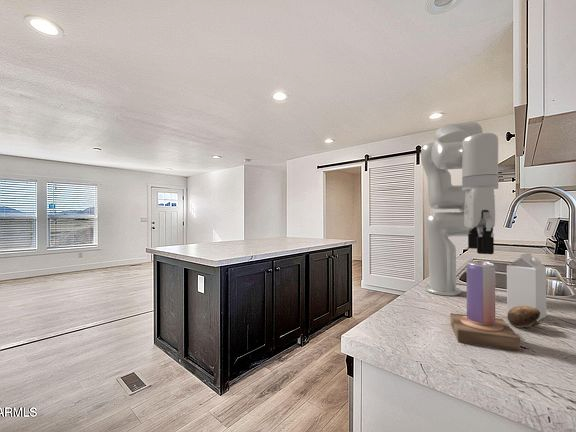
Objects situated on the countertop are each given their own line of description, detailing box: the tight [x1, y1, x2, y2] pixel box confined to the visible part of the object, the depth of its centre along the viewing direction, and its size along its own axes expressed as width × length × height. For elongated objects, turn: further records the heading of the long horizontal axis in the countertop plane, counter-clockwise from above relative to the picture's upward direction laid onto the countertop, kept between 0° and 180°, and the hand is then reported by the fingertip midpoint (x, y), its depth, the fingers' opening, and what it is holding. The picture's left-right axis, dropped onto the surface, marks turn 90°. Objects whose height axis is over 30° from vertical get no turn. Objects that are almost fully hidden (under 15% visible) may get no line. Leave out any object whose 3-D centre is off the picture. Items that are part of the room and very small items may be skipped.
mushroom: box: [507, 306, 542, 329], centre depth 74 cm, size 8×8×6 cm
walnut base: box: [449, 312, 521, 352], centre depth 69 cm, size 12×12×4 cm
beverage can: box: [466, 260, 496, 326], centre depth 69 cm, size 6×6×15 cm
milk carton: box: [506, 251, 547, 322], centre depth 82 cm, size 7×7×19 cm
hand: (479, 250), depth 69 cm, fingers open, 9 cm apart
